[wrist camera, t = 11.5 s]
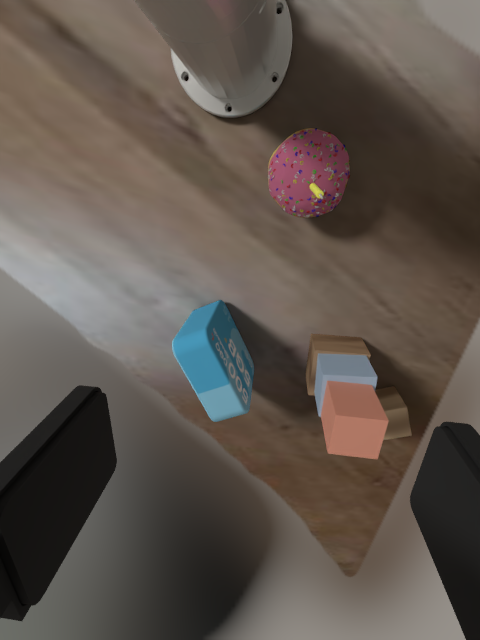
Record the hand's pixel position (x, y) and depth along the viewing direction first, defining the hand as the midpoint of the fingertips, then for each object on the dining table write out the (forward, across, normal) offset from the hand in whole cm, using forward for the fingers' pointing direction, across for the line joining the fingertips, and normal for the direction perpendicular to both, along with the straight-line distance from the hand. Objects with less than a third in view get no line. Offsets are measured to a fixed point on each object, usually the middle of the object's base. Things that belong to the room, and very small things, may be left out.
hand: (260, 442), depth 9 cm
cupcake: (+34, -3, -8) cm, 36 cm away
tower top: (+29, -10, +16) cm, 35 cm away
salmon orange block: (+24, -10, +16) cm, 31 cm away
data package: (+35, +6, +14) cm, 38 cm away
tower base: (+34, -10, +16) cm, 39 cm away
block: (+34, -18, +23) cm, 45 cm away
